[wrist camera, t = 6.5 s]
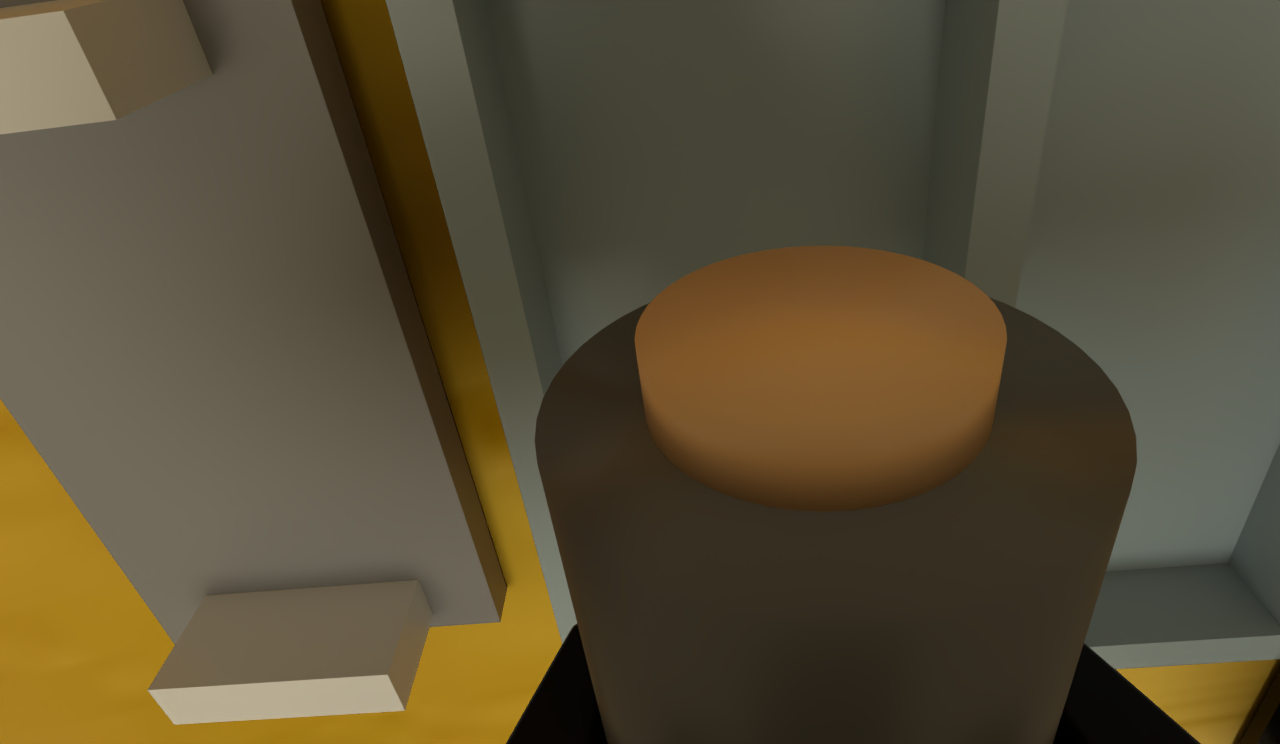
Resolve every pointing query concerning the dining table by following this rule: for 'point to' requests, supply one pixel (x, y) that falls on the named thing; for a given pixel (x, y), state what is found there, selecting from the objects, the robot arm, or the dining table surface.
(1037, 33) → the cell tray
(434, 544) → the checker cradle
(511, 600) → the dining table surface
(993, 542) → the battery cell
